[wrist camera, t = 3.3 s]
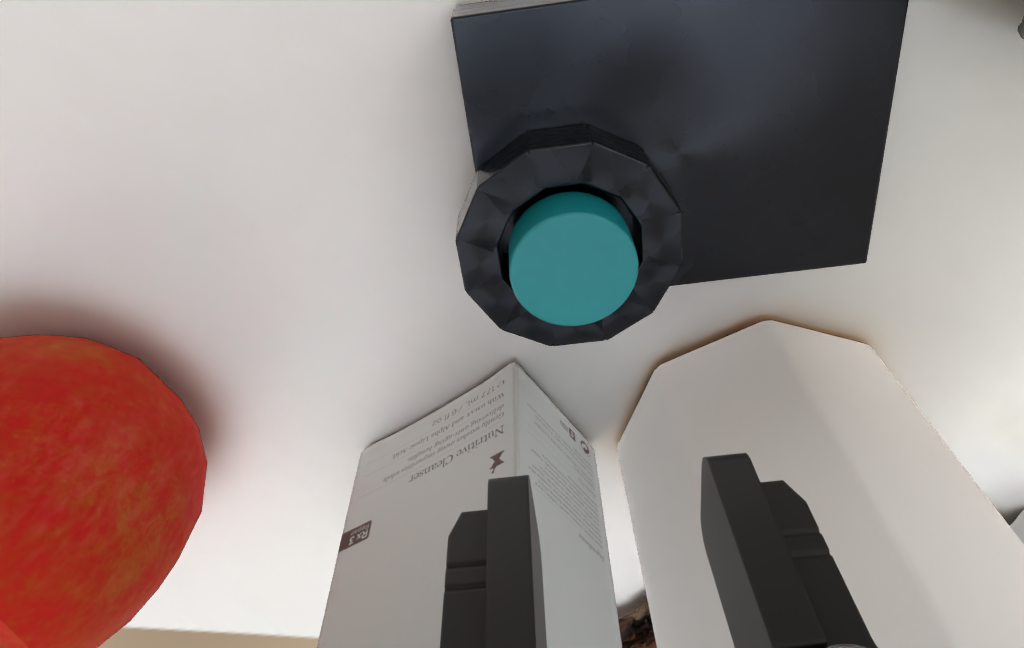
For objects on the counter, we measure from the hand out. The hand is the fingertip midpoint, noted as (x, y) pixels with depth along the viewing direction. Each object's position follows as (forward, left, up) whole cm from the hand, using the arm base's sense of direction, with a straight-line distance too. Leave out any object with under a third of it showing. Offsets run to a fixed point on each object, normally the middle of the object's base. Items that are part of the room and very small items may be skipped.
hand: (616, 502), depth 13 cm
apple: (-20, -6, -13) cm, 25 cm away
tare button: (0, 0, -10) cm, 10 cm away
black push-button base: (+3, +2, -13) cm, 14 cm away
